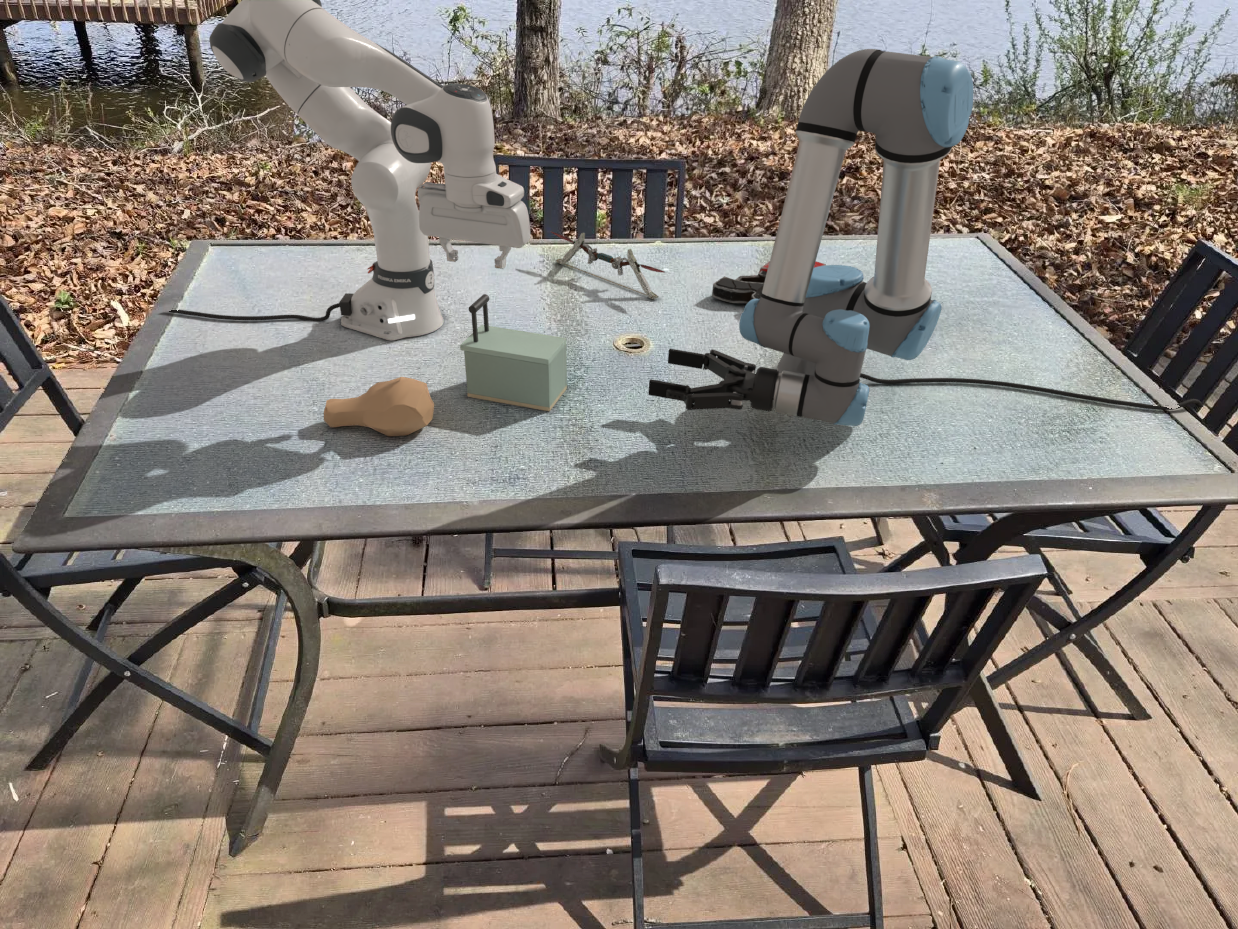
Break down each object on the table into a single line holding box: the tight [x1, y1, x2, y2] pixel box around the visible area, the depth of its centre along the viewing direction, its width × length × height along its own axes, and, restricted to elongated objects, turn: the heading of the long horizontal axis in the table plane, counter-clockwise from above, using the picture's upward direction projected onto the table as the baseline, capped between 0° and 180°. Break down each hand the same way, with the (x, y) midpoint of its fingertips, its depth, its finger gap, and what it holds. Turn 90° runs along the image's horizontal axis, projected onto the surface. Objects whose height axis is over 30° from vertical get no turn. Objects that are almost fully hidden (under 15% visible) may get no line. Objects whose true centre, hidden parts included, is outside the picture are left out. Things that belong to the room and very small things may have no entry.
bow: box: [550, 231, 666, 300], centre depth 217 cm, size 39×2×10 cm, turn 47°
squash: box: [323, 376, 435, 437], centre depth 157 cm, size 11×20×9 cm, turn 90°
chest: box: [463, 343, 568, 412], centre depth 168 cm, size 17×10×10 cm, turn 73°
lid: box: [459, 293, 567, 365], centre depth 163 cm, size 18×10×8 cm, turn 73°
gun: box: [711, 260, 827, 304], centre depth 215 cm, size 4×31×19 cm
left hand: (476, 264), depth 159 cm, fingers open, 8 cm apart
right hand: (659, 370), depth 158 cm, fingers open, 13 cm apart
